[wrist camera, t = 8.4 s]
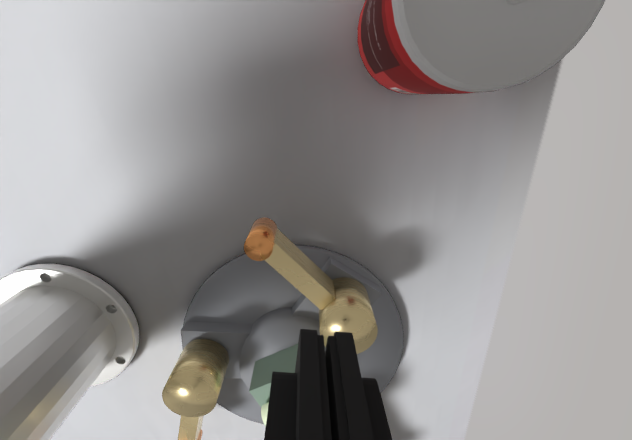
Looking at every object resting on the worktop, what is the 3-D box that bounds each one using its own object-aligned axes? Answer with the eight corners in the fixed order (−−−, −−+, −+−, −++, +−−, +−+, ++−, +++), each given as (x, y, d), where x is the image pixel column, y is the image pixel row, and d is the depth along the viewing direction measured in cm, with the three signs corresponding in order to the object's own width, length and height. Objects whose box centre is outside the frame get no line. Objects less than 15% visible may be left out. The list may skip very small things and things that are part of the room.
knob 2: (378, 299, 27) (389, 332, 23) (341, 328, 27) (346, 364, 24) (275, 200, 23) (269, 220, 20) (237, 236, 24) (224, 261, 21)
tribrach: (254, 443, 35) (240, 531, 28) (140, 302, 29) (84, 370, 22) (430, 377, 33) (464, 456, 25) (347, 205, 26) (362, 246, 19)
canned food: (493, 46, 22) (650, 3, 12) (393, 118, 24) (456, 134, 14) (440, -68, 20) (577, -241, 10) (332, 19, 22) (354, -52, 11)
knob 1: (184, 335, 27) (164, 372, 24) (232, 343, 28) (220, 382, 24) (171, 431, 31) (152, 476, 27) (213, 437, 32) (201, 483, 28)
